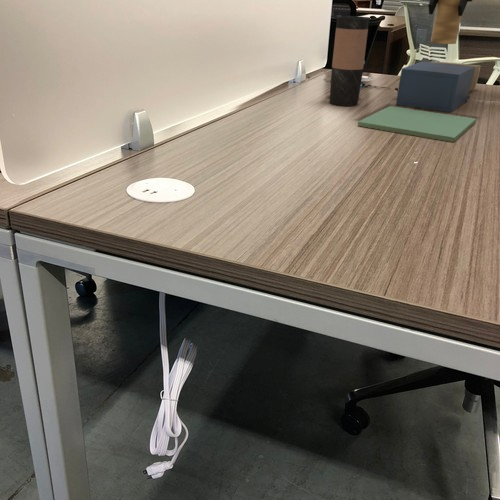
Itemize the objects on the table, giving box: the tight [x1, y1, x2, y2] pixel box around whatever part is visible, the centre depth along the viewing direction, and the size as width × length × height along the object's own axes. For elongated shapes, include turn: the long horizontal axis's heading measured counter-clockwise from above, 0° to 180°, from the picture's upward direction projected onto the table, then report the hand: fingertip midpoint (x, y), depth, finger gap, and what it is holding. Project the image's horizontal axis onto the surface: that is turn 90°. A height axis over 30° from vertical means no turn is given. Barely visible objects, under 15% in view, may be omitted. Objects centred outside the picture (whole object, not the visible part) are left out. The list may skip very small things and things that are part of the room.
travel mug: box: [329, 15, 370, 107], centre depth 124 cm, size 8×8×20 cm
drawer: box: [433, 60, 481, 92], centre depth 141 cm, size 20×13×7 cm, turn 147°
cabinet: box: [395, 61, 474, 113], centre depth 130 cm, size 17×14×9 cm
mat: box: [357, 105, 477, 143], centre depth 110 cm, size 20×20×1 cm
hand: (445, 10), depth 110 cm, fingers closed on pepper mill, 6 cm apart
